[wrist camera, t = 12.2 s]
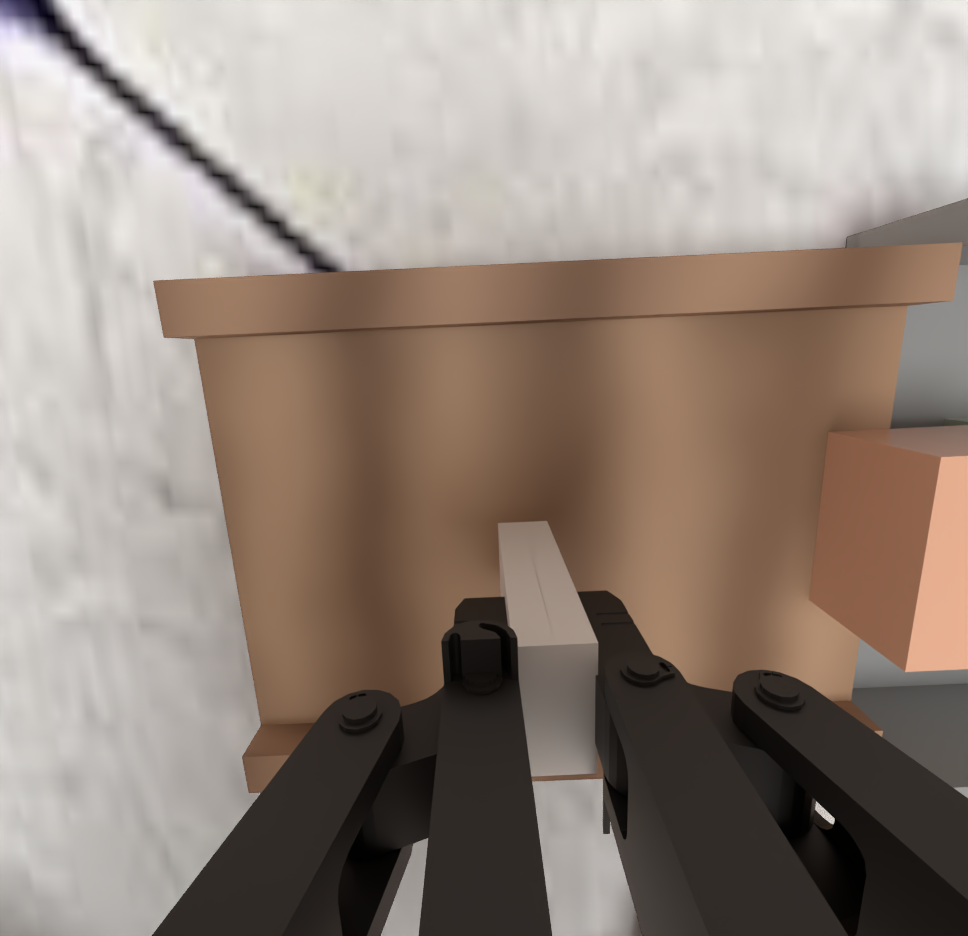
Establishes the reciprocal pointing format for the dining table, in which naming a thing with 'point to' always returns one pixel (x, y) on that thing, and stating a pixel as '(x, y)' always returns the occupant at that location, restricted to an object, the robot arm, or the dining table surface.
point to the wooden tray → (539, 454)
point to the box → (918, 403)
